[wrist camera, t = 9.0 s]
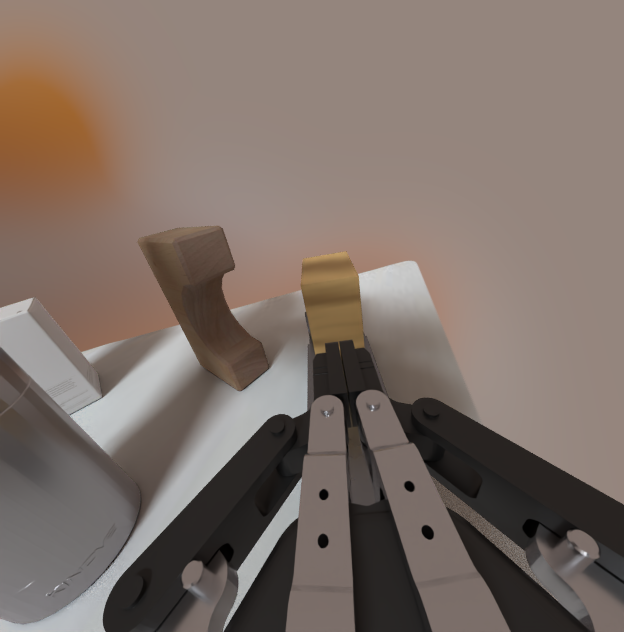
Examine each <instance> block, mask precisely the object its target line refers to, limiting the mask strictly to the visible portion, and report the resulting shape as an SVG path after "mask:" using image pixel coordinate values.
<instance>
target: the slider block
mask: <svg viewBox="0 0 624 632" xmlns="http://www.w3.org/2000/svg"><path fill="white" fill-rule="evenodd" d="M301 289H302V294H303V299H304V303H305V308H306V313H307V318H308V322H309V327H310V332H311V337H312V341H313V346H314V351H315V356H316V354H319V353H326V350H325V343H330V342H337V341H338V344H339V341H344V340H351V339H352V340H353V343H354V347H355V349H356V348H363V347H364V335H363V323H362V311H361V299H360V287H359V276H358V274H357V272H356V270H355V268H354V266H353V264H352V262H351V260H350V258H349V256H348V254H347V252H339V253H334V254H328V255H323V256H317V257H311V258H305V259H303V263H302V277H301ZM364 348H365V347H364ZM339 350H340V345H339ZM340 355H341V353H340Z"/></svg>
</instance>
